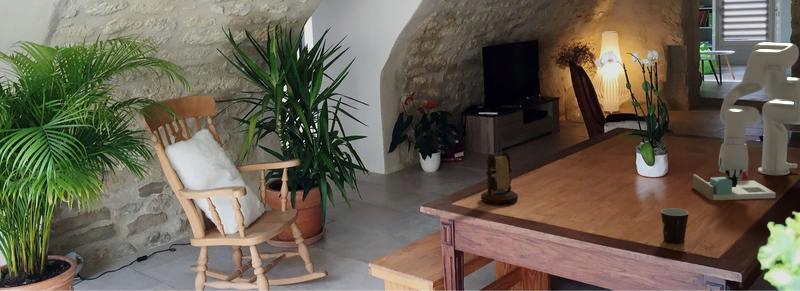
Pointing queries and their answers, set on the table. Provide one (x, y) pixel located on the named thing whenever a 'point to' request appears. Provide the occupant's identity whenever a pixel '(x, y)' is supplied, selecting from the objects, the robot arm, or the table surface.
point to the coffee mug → (674, 225)
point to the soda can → (743, 175)
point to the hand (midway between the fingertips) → (732, 186)
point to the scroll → (499, 180)
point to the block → (721, 185)
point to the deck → (733, 190)
